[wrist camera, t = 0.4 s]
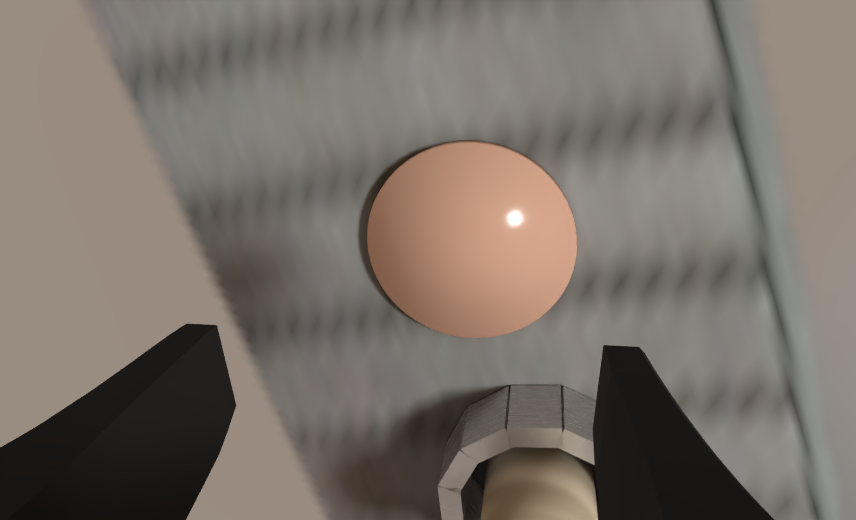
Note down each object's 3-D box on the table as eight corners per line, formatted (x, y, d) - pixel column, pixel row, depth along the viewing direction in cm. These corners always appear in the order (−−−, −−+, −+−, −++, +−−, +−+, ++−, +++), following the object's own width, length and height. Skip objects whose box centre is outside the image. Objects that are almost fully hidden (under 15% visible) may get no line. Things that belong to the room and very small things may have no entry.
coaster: (517, 362, 24) (516, 368, 24) (341, 280, 24) (338, 285, 24) (617, 198, 21) (618, 202, 21) (417, 103, 21) (415, 105, 21)
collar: (577, 557, 28) (579, 610, 26) (420, 485, 28) (409, 532, 25) (672, 437, 25) (685, 485, 22) (497, 355, 24) (492, 395, 22)
